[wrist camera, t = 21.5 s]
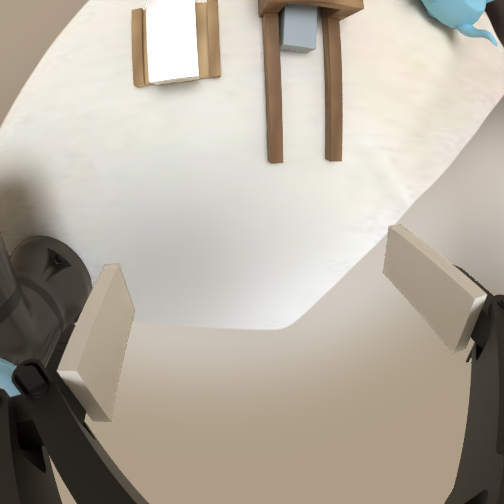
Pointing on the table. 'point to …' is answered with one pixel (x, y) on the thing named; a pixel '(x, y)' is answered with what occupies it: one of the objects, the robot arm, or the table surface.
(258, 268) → the table surface
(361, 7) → the brown wooden forked piece
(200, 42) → the tan tray
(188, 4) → the block
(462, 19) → the teapot
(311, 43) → the block
